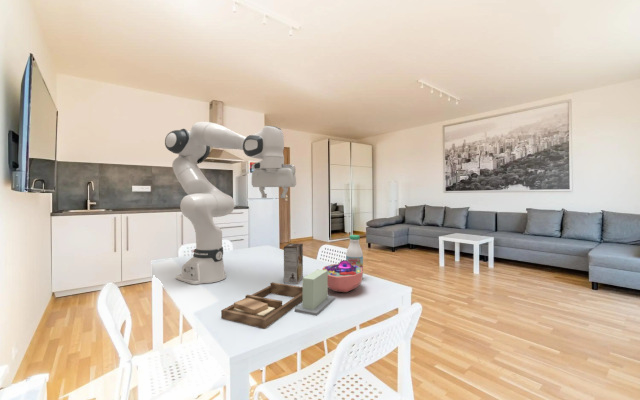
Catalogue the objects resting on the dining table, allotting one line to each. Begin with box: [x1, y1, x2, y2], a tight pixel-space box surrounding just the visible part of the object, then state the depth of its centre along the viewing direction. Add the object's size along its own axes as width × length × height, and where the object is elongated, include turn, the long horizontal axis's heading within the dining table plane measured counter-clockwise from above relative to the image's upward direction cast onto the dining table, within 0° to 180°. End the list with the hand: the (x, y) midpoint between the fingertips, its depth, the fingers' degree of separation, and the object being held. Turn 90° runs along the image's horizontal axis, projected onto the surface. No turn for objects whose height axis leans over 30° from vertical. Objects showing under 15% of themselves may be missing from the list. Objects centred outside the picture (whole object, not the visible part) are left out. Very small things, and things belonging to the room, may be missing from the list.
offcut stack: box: [233, 297, 275, 318], centre depth 90 cm, size 13×7×4 cm, turn 61°
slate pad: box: [294, 295, 336, 317], centre depth 99 cm, size 8×16×1 cm, turn 156°
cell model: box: [321, 259, 364, 293], centre depth 115 cm, size 17×20×11 cm
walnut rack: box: [220, 282, 303, 329], centre depth 97 cm, size 16×26×4 cm, turn 156°
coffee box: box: [283, 243, 304, 285], centre depth 127 cm, size 9×6×16 cm
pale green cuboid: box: [302, 269, 329, 310], centre depth 99 cm, size 4×12×10 cm, turn 156°
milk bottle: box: [345, 234, 364, 280], centre depth 130 cm, size 8×8×20 cm
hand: (273, 198), depth 119 cm, fingers open, 8 cm apart
